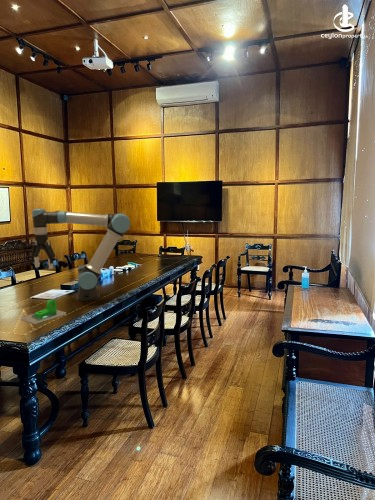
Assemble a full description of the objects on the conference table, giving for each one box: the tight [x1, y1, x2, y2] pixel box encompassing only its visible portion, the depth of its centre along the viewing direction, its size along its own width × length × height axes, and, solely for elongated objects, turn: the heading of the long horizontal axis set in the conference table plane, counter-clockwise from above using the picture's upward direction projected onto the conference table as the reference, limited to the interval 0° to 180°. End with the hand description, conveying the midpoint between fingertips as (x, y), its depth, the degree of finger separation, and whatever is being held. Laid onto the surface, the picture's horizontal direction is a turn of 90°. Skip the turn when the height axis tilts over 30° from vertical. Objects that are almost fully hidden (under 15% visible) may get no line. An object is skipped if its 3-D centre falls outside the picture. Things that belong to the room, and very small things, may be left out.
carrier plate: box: [20, 309, 67, 325], centre depth 204 cm, size 20×14×1 cm
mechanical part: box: [34, 299, 58, 318], centre depth 203 cm, size 12×6×8 cm, turn 154°
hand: (44, 267), depth 218 cm, fingers open, 13 cm apart
